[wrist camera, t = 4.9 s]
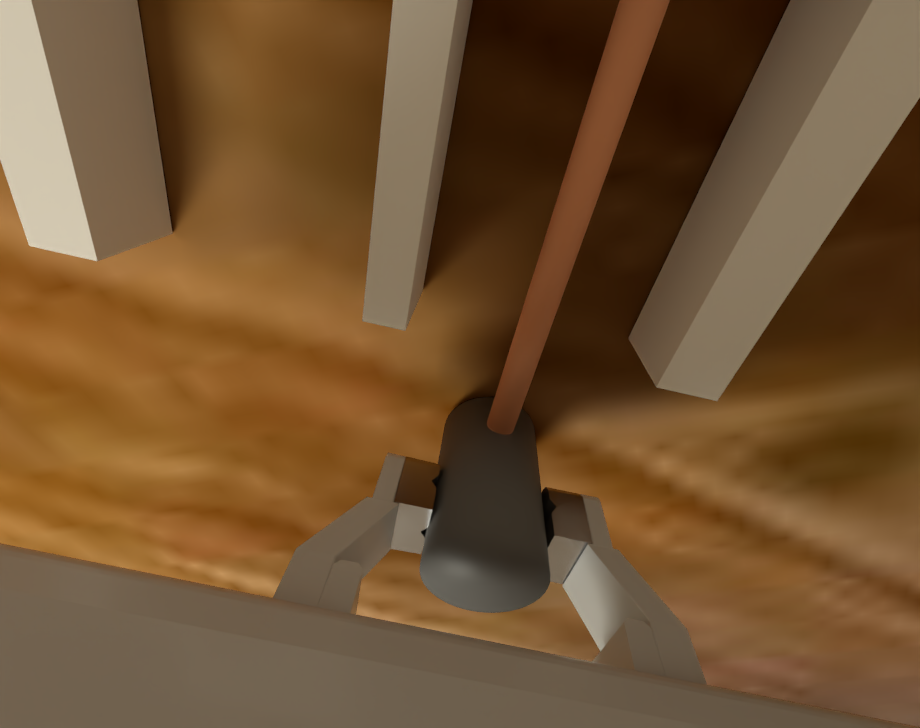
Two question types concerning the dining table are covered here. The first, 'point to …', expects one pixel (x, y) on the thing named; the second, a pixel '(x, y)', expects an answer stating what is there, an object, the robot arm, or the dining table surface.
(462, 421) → the cord block
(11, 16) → the tray
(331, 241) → the dining table surface
